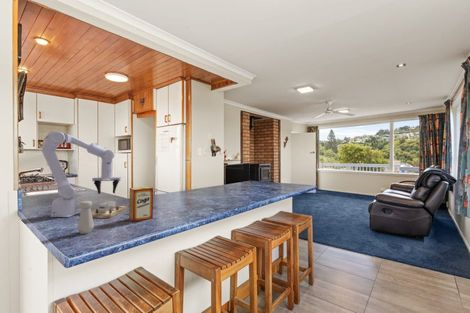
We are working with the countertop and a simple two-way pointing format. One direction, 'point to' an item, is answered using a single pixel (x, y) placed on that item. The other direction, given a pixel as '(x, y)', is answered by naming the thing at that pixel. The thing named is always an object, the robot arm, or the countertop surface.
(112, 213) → the pin tray
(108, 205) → the drive block
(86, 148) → the robot arm
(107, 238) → the countertop surface
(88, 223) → the salt shaker
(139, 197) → the baking soda box
